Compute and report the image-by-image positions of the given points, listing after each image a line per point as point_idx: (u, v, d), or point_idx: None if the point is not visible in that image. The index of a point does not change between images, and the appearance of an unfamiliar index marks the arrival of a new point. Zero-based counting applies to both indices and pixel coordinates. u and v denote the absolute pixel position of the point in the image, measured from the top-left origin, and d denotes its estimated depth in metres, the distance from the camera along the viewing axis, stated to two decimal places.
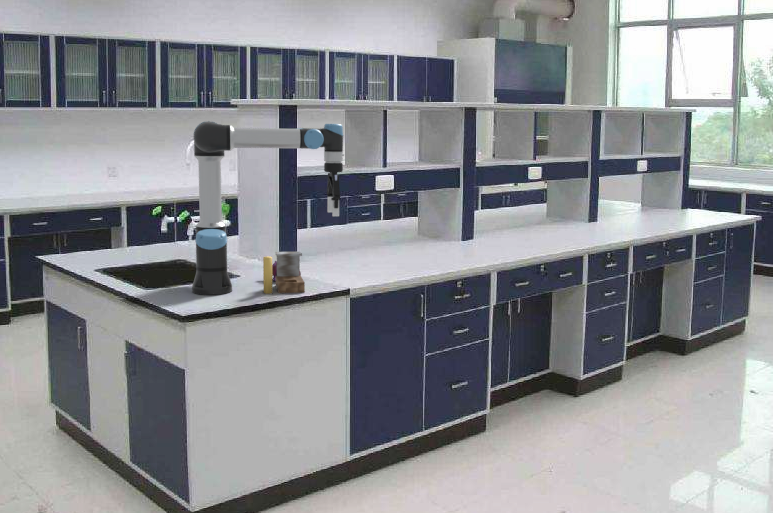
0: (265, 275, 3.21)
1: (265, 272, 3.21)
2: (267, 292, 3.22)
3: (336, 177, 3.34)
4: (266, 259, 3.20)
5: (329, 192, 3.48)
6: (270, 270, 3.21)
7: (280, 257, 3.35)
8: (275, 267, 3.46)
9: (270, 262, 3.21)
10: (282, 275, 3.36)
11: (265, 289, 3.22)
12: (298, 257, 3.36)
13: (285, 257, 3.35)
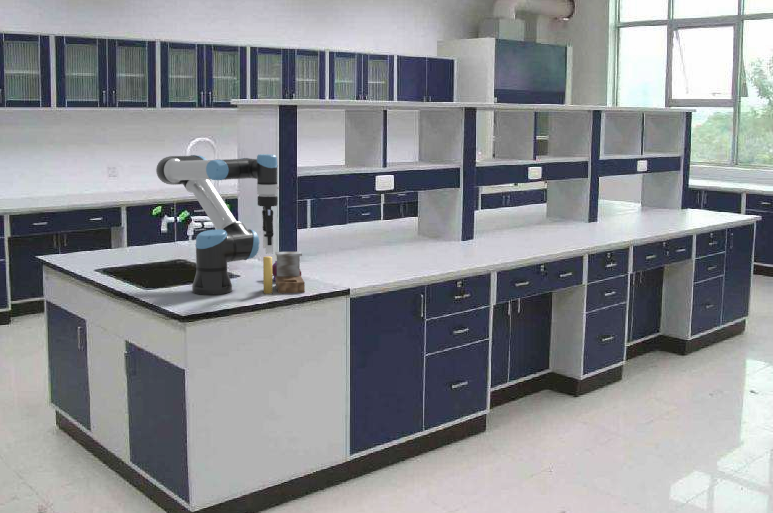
0: (265, 275, 3.21)
1: (265, 272, 3.21)
2: (267, 292, 3.22)
3: (269, 212, 3.12)
4: (266, 259, 3.20)
5: (264, 227, 3.25)
6: (270, 270, 3.21)
7: (280, 257, 3.35)
8: (275, 267, 3.46)
9: (270, 262, 3.21)
10: (282, 275, 3.36)
11: (265, 289, 3.22)
12: (298, 257, 3.36)
13: (285, 257, 3.35)
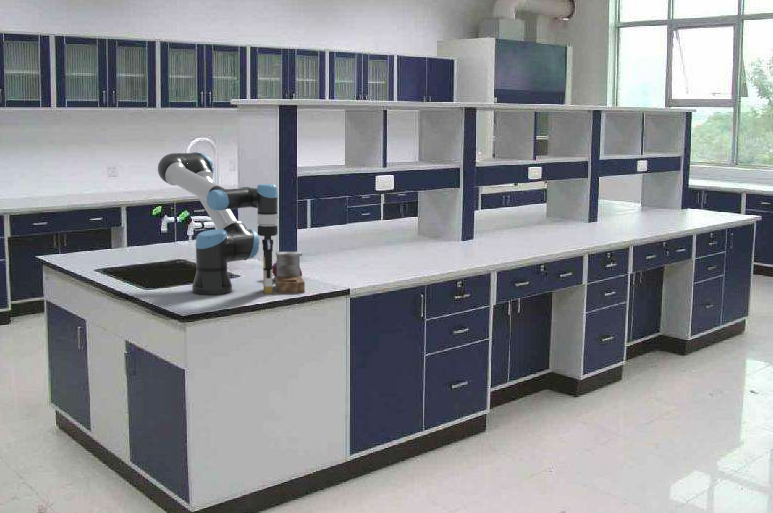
0: None
1: None
2: (267, 292, 3.22)
3: (268, 247, 3.15)
4: None
5: None
6: None
7: (280, 257, 3.35)
8: (276, 267, 3.46)
9: None
10: (282, 275, 3.36)
11: (265, 289, 3.22)
12: (298, 257, 3.36)
13: (285, 257, 3.35)
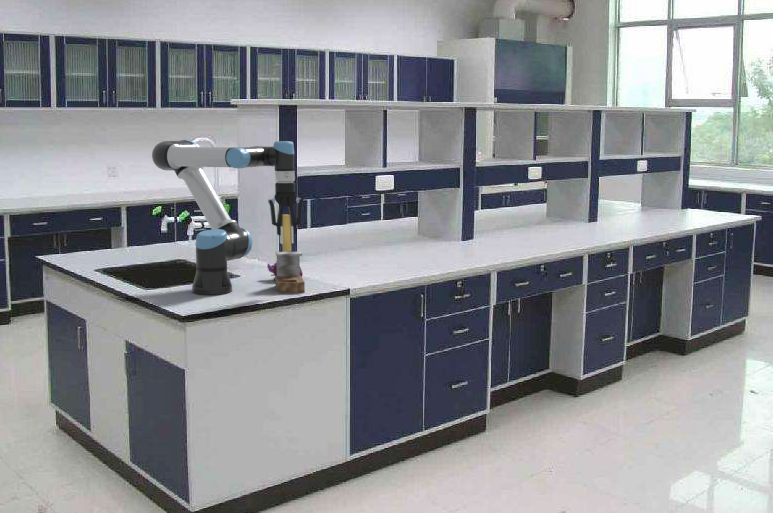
0: None
1: None
2: None
3: None
4: None
5: None
6: (283, 228, 3.21)
7: (280, 257, 3.35)
8: (276, 267, 3.46)
9: (283, 220, 3.20)
10: (282, 275, 3.36)
11: None
12: (298, 257, 3.36)
13: (285, 257, 3.35)
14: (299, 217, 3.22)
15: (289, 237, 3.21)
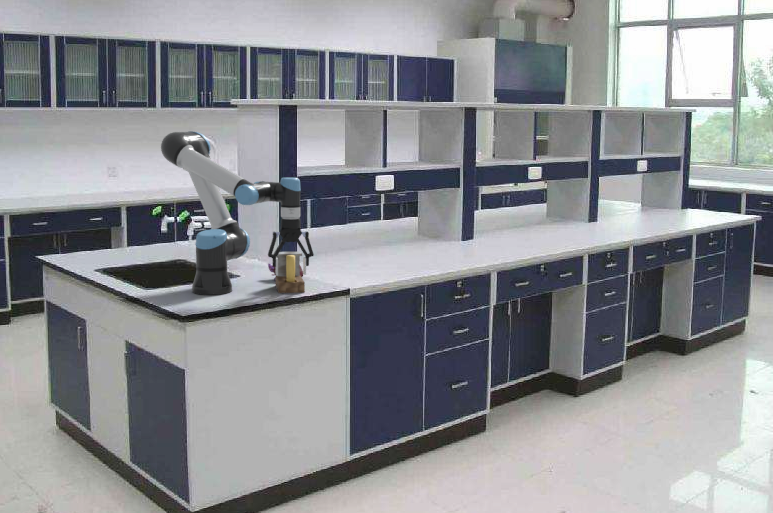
0: None
1: None
2: None
3: None
4: None
5: None
6: (287, 268, 3.25)
7: (280, 257, 3.35)
8: None
9: (287, 261, 3.24)
10: (282, 275, 3.36)
11: None
12: (298, 257, 3.36)
13: (285, 257, 3.35)
14: (310, 249, 3.25)
15: (293, 278, 3.26)
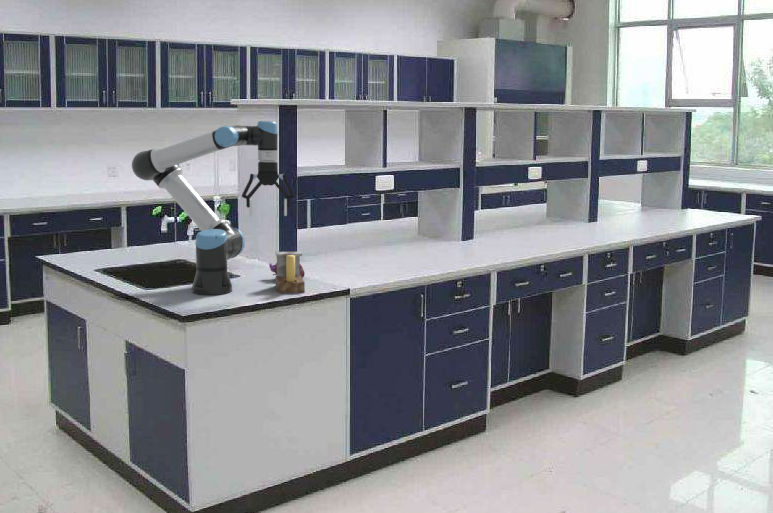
0: None
1: None
2: None
3: (250, 175, 3.25)
4: None
5: None
6: (287, 268, 3.25)
7: (280, 257, 3.35)
8: None
9: (287, 261, 3.24)
10: (282, 275, 3.36)
11: None
12: (298, 257, 3.36)
13: (285, 257, 3.35)
14: (290, 191, 3.28)
15: (293, 278, 3.26)
